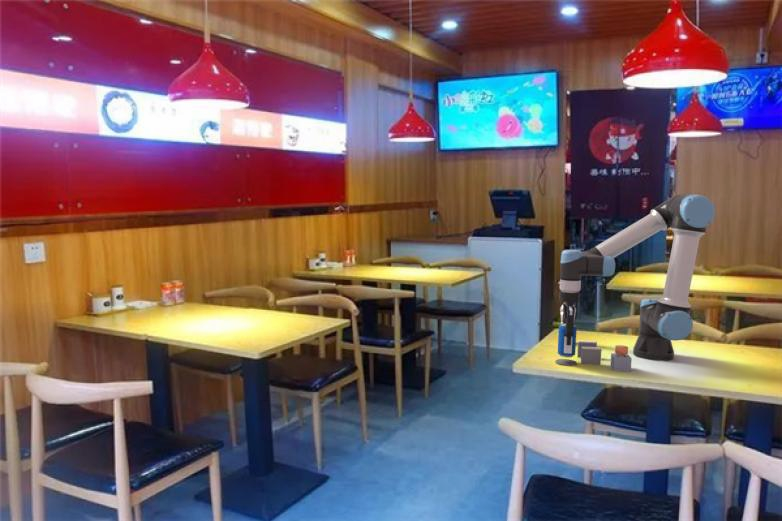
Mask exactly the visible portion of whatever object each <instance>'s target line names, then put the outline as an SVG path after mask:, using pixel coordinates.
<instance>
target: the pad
mask: <svg viewBox="0 0 782 521" xmlns="http://www.w3.org/2000/svg"><path fill="white" fill-rule="evenodd" d="M554 362H555V364H557V365H560V366H566V367H573V366H577V365H578V362H577V361H576V360H574V359H568V358H567V359H566V358H558V359H556V360H555V361H554Z"/></svg>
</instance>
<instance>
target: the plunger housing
mask: <svg viewBox="0 0 782 521" xmlns="http://www.w3.org/2000/svg"><path fill="white" fill-rule="evenodd" d="M610 368H611V370H613V371H614V372H629V373H630V372H632V357H631V356H630V355H629V353H628V354H626V355H624V357H618V354H617V353H615V352H611V353H610Z"/></svg>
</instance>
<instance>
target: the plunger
mask: <svg viewBox="0 0 782 521" xmlns="http://www.w3.org/2000/svg"><path fill="white" fill-rule="evenodd" d="M614 346H615V347H614V348H615V349H614V353H617V354H618V357H624V355H626V354H628V355H629V346H627V345H622V344H621V345H620V344H617V345H614Z"/></svg>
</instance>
